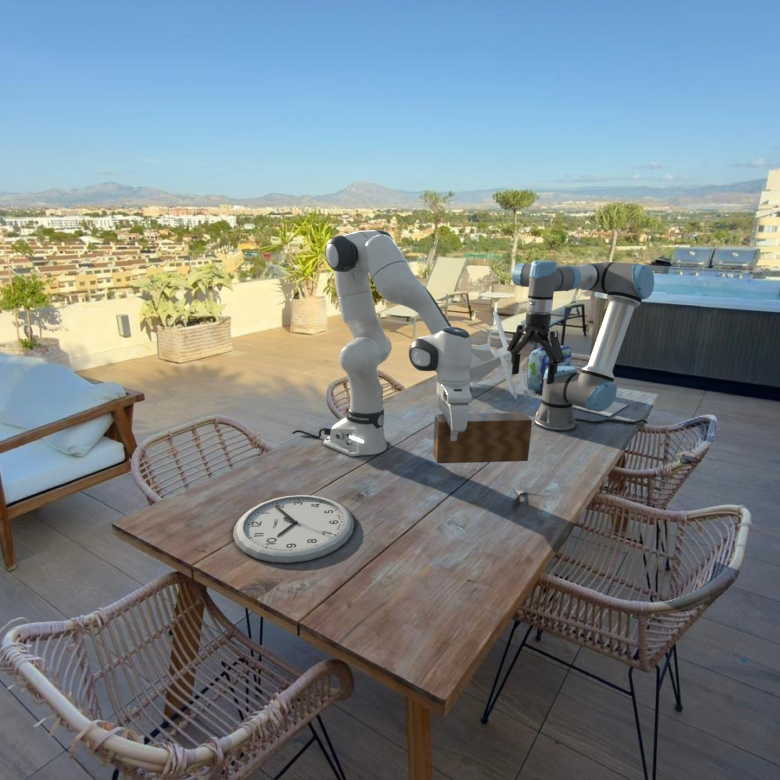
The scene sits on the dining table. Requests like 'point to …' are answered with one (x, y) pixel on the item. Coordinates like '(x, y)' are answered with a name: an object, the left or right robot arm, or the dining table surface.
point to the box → (484, 439)
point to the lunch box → (542, 367)
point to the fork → (519, 491)
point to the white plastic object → (494, 361)
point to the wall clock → (293, 529)
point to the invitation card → (609, 411)
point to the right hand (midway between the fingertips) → (532, 378)
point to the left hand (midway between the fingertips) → (450, 435)
